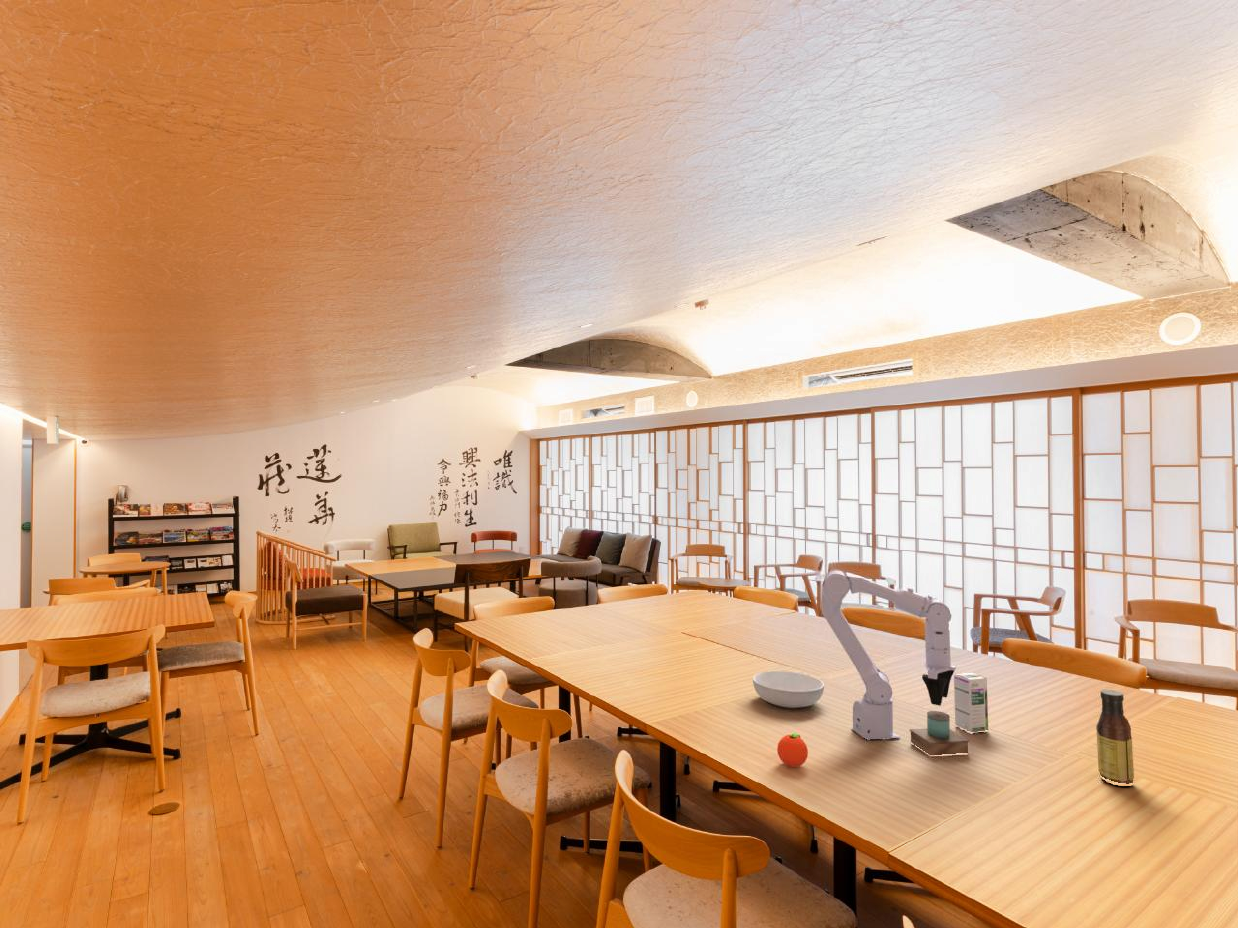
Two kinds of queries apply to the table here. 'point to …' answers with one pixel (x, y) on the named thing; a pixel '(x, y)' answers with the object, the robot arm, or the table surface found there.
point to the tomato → (792, 750)
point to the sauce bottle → (1114, 740)
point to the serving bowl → (788, 688)
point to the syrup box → (971, 702)
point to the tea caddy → (938, 724)
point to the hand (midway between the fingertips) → (939, 700)
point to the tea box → (939, 743)
